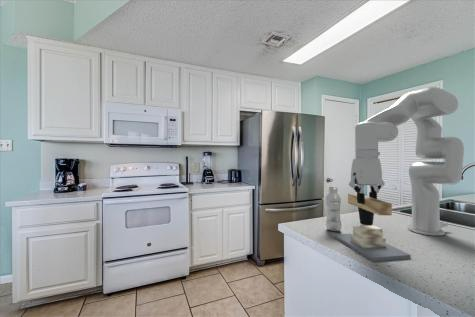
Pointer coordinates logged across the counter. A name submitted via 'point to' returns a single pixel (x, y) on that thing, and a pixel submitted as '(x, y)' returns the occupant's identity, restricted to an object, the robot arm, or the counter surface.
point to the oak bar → (372, 205)
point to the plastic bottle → (333, 210)
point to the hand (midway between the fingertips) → (367, 202)
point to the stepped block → (368, 236)
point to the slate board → (374, 250)
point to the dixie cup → (365, 217)
